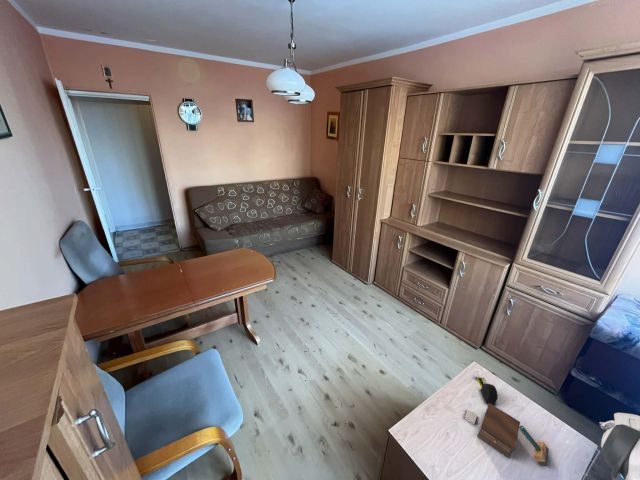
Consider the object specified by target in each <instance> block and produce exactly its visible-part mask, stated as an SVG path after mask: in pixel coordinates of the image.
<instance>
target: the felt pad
mask: <svg viewBox="0 0 640 480" xmlns="http://www.w3.org/2000/svg"><path fill="white" fill-rule="evenodd" d="M477 417H478V416H477V415H476V414H474V413H473V412H472V411H470V410H467V411H466V414H465V417H464V419H465V420H466V421H468V422H470V423H471V424H472V425H475V423H476V420H477Z"/></svg>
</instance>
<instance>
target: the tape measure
mask: <svg viewBox="0 0 640 480" xmlns="http://www.w3.org/2000/svg"><path fill="white" fill-rule="evenodd" d="M475 379H476V380H477V382H478V384H479V386H480V393H481V395H482V398H483V401H484V403H485V404H486V405H488V404H489V403H490V404H492V405H494V406H495V405H496V403H497V400H498V397H499V396H498V389H497V387H496V386H495V385H494V384H490V383H488V382H487V383H486V382H485V380H484V377H483V378H482V377H478V376H475Z"/></svg>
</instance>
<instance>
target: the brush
mask: <svg viewBox="0 0 640 480" xmlns="http://www.w3.org/2000/svg"><path fill="white" fill-rule="evenodd" d="M519 431H520V432H521V433H522V435H524V437H525V438H526V439H527V440H528V443H530V444H531V446H532V447H533V448H534V453H533V459H534V460H535V461H536V462H537V463H538V464H539V465H540V466H548V463H549V452H550V451H549V448H548V446H547V444H546V443H545V442H544V441H536V440H535V439H534V438H533V437H532V436H531V434H530V433H529V431H528V430H527V429H526V428H525V426H523V425H520V426H519Z"/></svg>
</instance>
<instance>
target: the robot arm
mask: <svg viewBox="0 0 640 480" xmlns="http://www.w3.org/2000/svg"><path fill="white" fill-rule="evenodd" d="M613 417H614V419H613V420H607V421H605V422H603V421H602V422H601V421H599V427H600V429H602V430H603V431H604V433H603V434H602V437H601V441H600V447H601V450H600V451H601V454H602V457H603V460H604V462H605V463H606V464H607V466H608V467H609V468H610V470H611V471H612V474H611V476H612V478H614V480H616V479H617V478H618V477H619V475H620V476H621V477H622V479H623V480H640V415H638V414H633V413H627V412H615V413H614V414H613Z"/></svg>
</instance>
